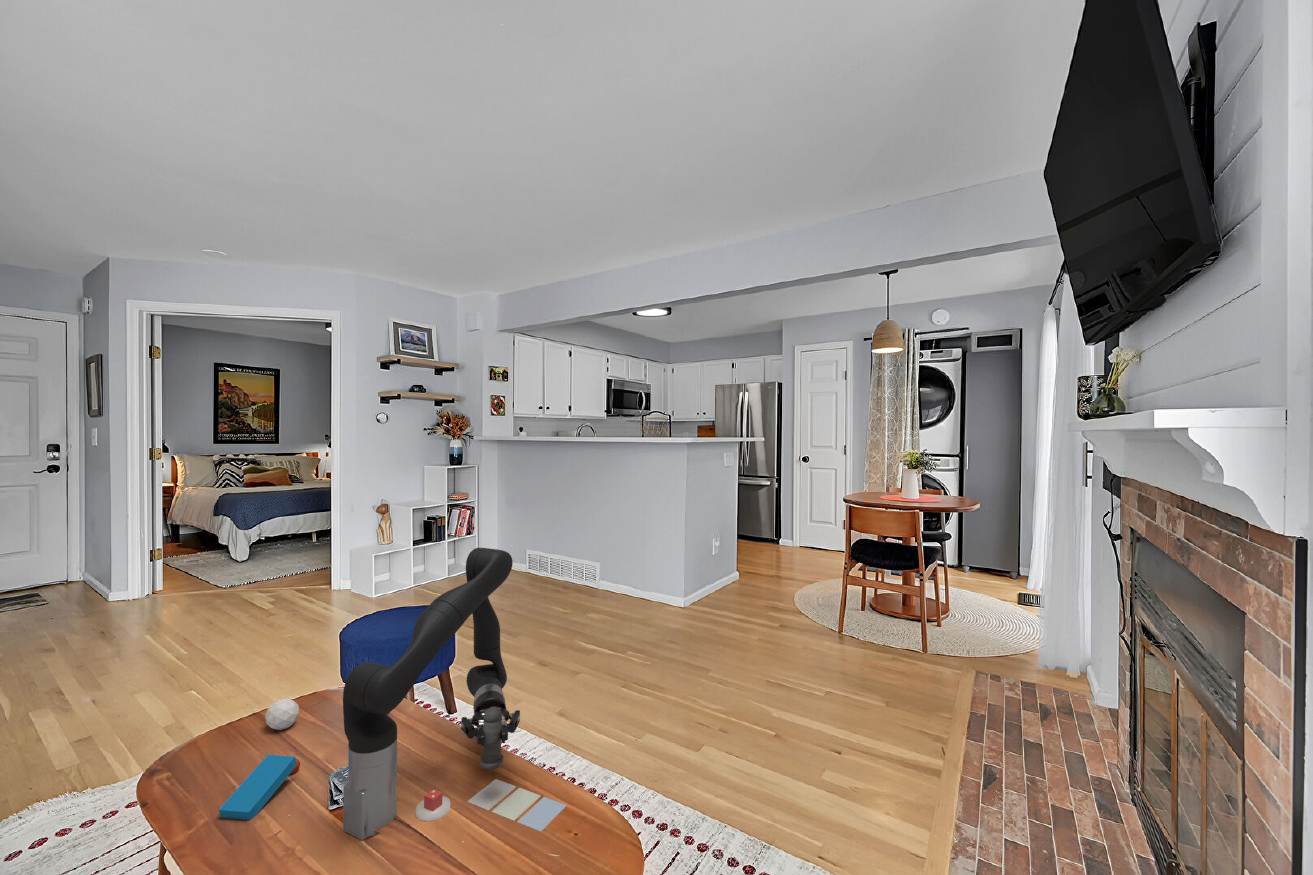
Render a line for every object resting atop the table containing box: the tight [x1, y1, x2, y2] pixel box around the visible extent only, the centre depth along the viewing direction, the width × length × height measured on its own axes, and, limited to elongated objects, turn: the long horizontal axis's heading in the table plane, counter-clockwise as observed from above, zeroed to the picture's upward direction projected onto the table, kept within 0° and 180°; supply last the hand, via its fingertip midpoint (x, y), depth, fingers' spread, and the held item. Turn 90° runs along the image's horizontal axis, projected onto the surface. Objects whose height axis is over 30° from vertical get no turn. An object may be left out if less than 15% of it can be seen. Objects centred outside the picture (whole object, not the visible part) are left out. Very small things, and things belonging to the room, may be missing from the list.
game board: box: [466, 778, 567, 832], centre depth 126 cm, size 11×21×1 cm, turn 64°
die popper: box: [415, 789, 451, 822], centre depth 123 cm, size 7×7×5 cm
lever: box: [218, 754, 301, 821], centre depth 130 cm, size 7×7×18 cm
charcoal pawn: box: [479, 707, 504, 770], centre depth 128 cm, size 5×5×12 cm
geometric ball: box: [264, 698, 300, 731], centre depth 157 cm, size 8×8×8 cm
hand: (493, 740), depth 126 cm, fingers closed on charcoal pawn, 4 cm apart
